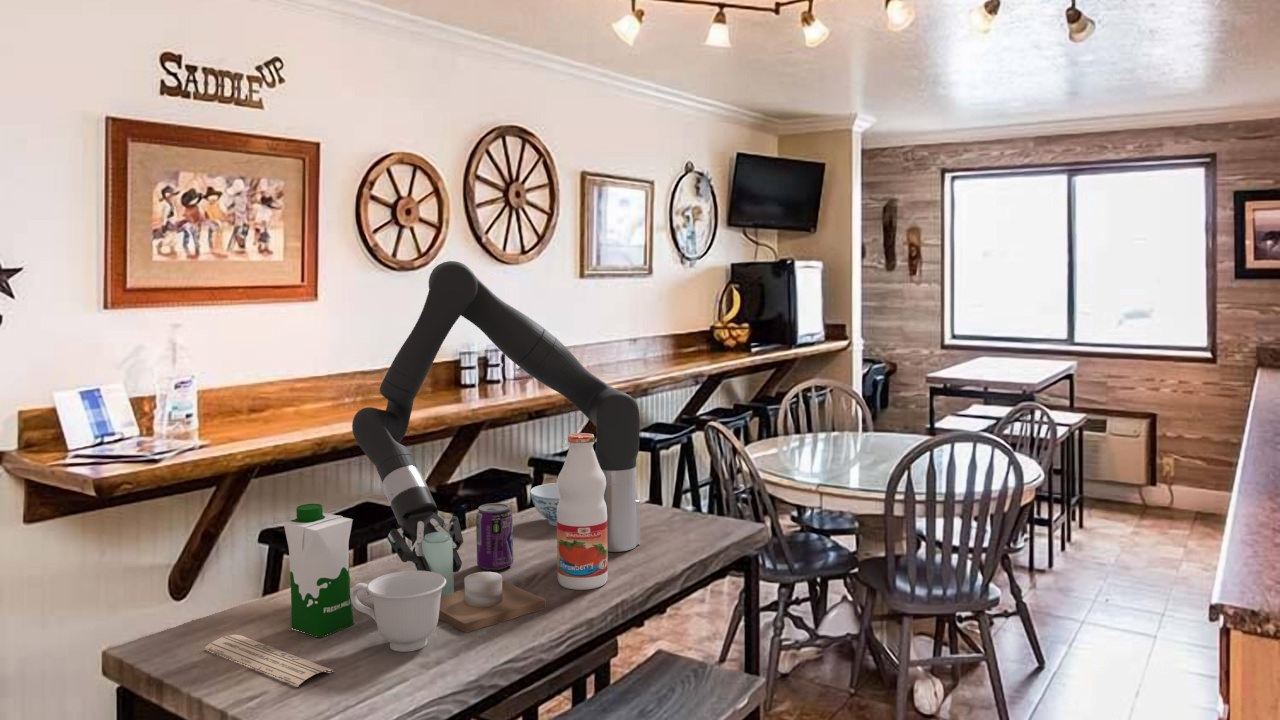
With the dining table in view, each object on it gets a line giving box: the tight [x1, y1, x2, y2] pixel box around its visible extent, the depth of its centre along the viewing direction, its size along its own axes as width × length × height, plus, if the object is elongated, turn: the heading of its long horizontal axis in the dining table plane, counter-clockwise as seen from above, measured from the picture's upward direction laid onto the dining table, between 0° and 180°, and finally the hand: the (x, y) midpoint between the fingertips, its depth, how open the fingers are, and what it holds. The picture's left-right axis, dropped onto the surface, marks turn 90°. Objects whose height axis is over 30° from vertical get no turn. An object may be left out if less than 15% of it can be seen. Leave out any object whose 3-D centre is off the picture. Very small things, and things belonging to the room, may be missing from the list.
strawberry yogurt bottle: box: [556, 432, 609, 591], centre depth 170 cm, size 9×9×28 cm
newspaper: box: [204, 634, 335, 686], centre depth 138 cm, size 24×7×2 cm, turn 56°
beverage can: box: [475, 502, 514, 571], centre depth 181 cm, size 7×7×12 cm
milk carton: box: [283, 503, 355, 638], centre depth 150 cm, size 9×9×20 cm
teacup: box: [350, 570, 446, 653], centre depth 143 cm, size 12×15×10 cm
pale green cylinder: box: [422, 531, 455, 596], centre depth 166 cm, size 5×5×11 cm
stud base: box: [438, 571, 546, 634], centre depth 158 cm, size 16×14×6 cm
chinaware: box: [529, 482, 560, 527], centre depth 212 cm, size 15×15×8 cm
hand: (443, 573), depth 164 cm, fingers closed on pale green cylinder, 5 cm apart
